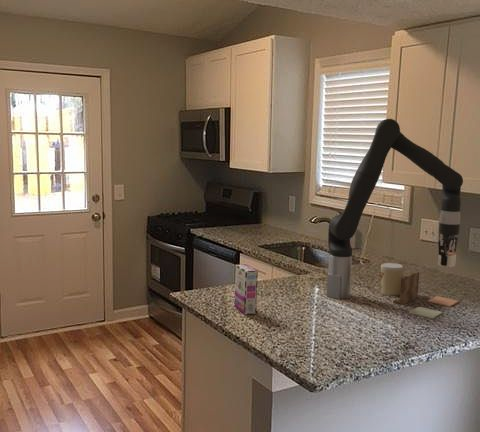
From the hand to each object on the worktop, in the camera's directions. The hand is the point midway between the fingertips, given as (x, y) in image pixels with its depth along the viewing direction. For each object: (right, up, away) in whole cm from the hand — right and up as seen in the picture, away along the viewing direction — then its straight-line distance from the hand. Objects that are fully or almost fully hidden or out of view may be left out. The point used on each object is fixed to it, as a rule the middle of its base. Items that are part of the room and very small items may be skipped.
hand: (446, 264), depth 208 cm
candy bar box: (-80, -16, -13) cm, 83 cm away
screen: (-15, -15, +4) cm, 22 cm away
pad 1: (-13, -17, -12) cm, 25 cm away
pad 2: (0, -16, +3) cm, 16 cm away
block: (0, -1, 0) cm, 0 cm away
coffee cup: (-19, -14, +14) cm, 27 cm away
